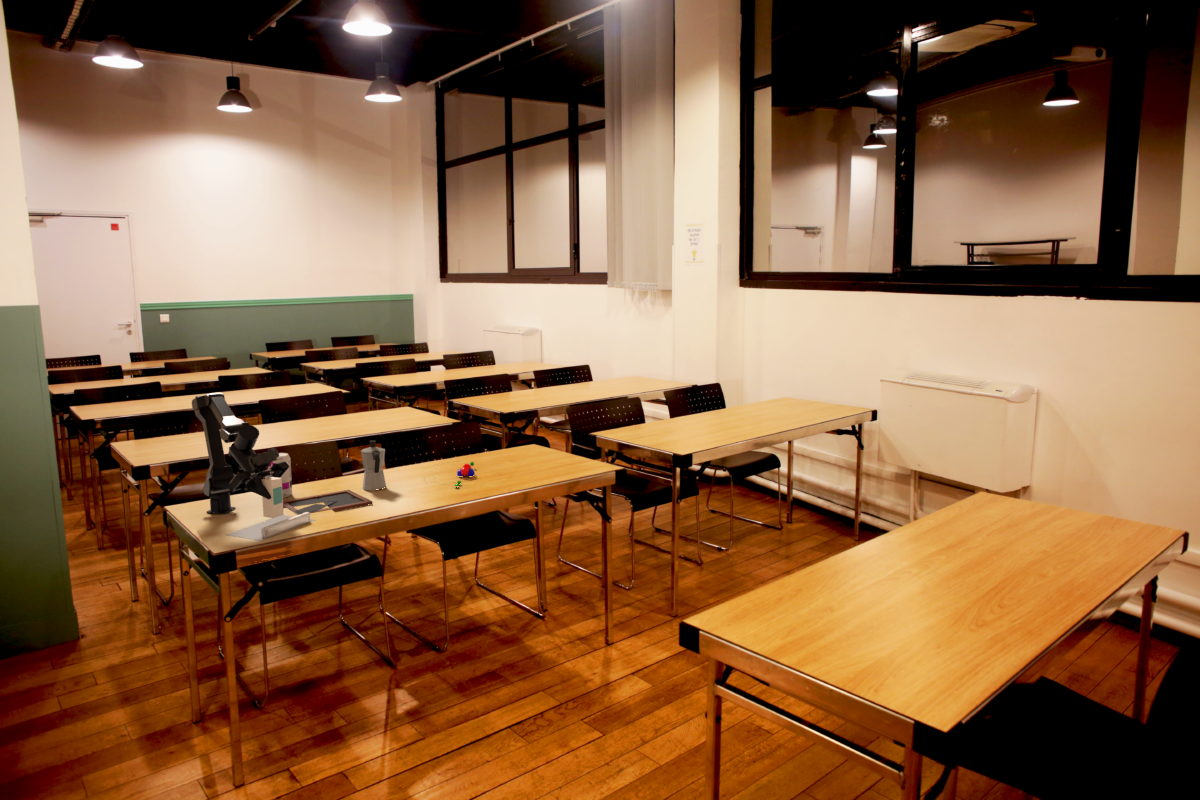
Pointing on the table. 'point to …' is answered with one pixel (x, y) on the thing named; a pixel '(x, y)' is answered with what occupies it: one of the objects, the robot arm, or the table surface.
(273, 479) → the carton
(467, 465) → the atom model
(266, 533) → the rail
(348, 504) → the picture frame
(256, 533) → the shelf board
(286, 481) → the supplement can
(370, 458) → the coffee maker
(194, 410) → the robot arm
